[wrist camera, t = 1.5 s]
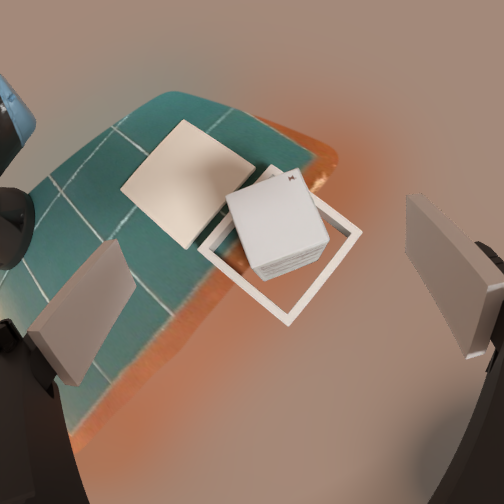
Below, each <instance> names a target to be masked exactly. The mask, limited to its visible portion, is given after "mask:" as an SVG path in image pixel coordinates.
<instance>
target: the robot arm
mask: <svg viewBox="0 0 504 504" xmlns="http://www.w3.org/2000/svg"><path fill="white" fill-rule="evenodd" d="M35 127H36V119H35V117H34V115H33V114H32V113H31V111H30V110H29V108H28V107H27V106H26V104H25V103H24V102H23V101H22V99H21V98H20V97H19V95H18V94H17V93H16V92H15V90H14V89H13V88H12V87H11V85H10V84H9V83H8V82H7V80H6V79H5V78H4V77H3V76H2V75H1V74H0V176H1V175H2V174H3V172H4V171H5V169H6V168H7V167H8V165H9V164H10V163H11V161H12V160H13V159H14V158H15V156H16V155H17V154H18V152H19V151H20V150H21V149H22V148H23V147H24V144H25V143H26V141H27V140H28V138H29V137H30V136H31V134H32V133H33V132H34V130H35ZM34 222H35V212H34V206H33V202H32V200H31V198H30V196H29V195H28V194H27V193H25V192H23V191H21V190H19V189H17V188H6V187H0V270H10V269H12V268H13V267H15V266H16V265H17V264H18V263H19V262H20V261H21V259H22V258H23V257H24V255H25V253H26V251H27V249H28V247H29V244H30V241H31V238H32V235H33V230H34ZM405 253H406V254H407V256H408V257H409V259H410V260H411V262H412V264H413V265H414V267H415V268H416V270H417V272H418V273H419V275H420V277H421V278H422V280H423V282H424V283H425V285H426V287H427V288H428V290H429V292H430V293H431V295H432V297H433V298H434V300H435V302H436V304H437V306H438V307H439V309H440V311H441V313H442V314H443V316H444V318H445V320H446V322H447V324H448V326H449V327H450V329H451V331H452V333H453V335H454V337H455V339H456V341H457V343H458V345H459V347H460V349H461V351H462V353H463V355H464V357H465V359H469V358H472V357H476V356H479V355H482V354H485V352H486V350H487V347H488V345H489V342H490V339H491V341H492V343H493V345H494V346H495V351H494V353H493V356H492V358H491V361H490V362H489V365H488V367H487V369H486V372H487V376H486V379H485V382H484V385H483V388H482V391H481V393H480V396H479V399H478V402H477V404H476V407H475V410H474V412H473V415H472V417H471V420H470V422H469V424H468V427H467V429H466V431H465V434H464V436H463V438H462V440H461V443H460V445H459V447H458V449H457V451H456V453H455V455H454V457H453V459H452V461H451V463H450V465H449V467H448V469H447V471H446V473H445V475H444V476H443V478H442V480H441V482H440V484H439V485H438V487H437V489H436V490H435V492H434V494H433V495H432V497H431V499H430V500H429V502H428V504H504V261H503V260H502V259H501V258H500V257H498V255H497V254H496V253H495V252H494V251H493V250H492V249H491V248H490V247H488V246H487V245H485V244H483V243H481V242H479V241H478V242H473V241H472V240H471V239H470V238H469V237H468V236H467V235H466V234H465V233H464V232H463V231H462V230H461V229H460V228H459V227H458V226H457V225H456V224H455V223H454V222H453V221H452V220H451V219H450V218H448V217H447V216H446V215H445V214H444V213H443V212H442V211H441V210H440V209H439V208H438V207H437V206H435V205H434V204H433V203H432V202H431V201H430V200H429V199H428V198H427V197H425V196H424V195H423V194H422V193H421V194H412V195H406V248H405ZM136 287H137V286H136V284H135V282H134V280H133V277H132V275H131V273H130V270H129V268H128V265H127V263H126V261H125V258H124V256H123V253H122V251H121V248H120V246H119V243H118V241H117V239H113V240H108V241H104V242H103V243H102V244H101V245H100V246H99V247H98V248H97V249H96V251H95V252H94V253H93V254H92V255H91V256H90V257H89V258H88V259H87V260H86V261H85V262H84V263H83V265H82V266H81V267H80V268H79V269H78V270H77V271H76V272H75V273H74V274H73V276H72V277H71V278H70V279H69V280H68V281H67V282H66V284H65V285H64V286H63V287H62V288H61V289H60V290H59V292H58V293H57V294H56V295H55V296H54V297H53V299H52V300H51V301H50V302H49V303H48V305H47V306H46V307H45V308H44V309H43V311H42V312H41V313H40V314H39V316H38V317H37V318H36V319H35V321H34V322H33V323H32V324H31V326H30V327H29V328H28V330H27V334H26V335H25V336H24V338H23V337H22V336H21V334H20V333H19V331H18V330H17V328H16V327H15V325H14V324H13V322H12V320H11V319H4V320H1V321H0V504H90V503H89V501H88V498H87V495H86V492H85V490H84V487H83V484H82V481H81V478H80V475H79V471H78V468H77V465H76V462H75V459H74V455H73V451H72V448H71V444H70V440H69V436H68V432H67V428H66V423H65V419H64V414H63V410H62V405H61V400H60V394H59V389H58V386H57V384H56V383H55V381H54V378H55V376H56V375H58V376H59V378H60V379H61V380H62V381H63V383H64V384H65V385H70V386H78V387H79V385H80V383H81V381H82V379H83V378H84V376H85V374H86V372H87V370H88V368H89V367H90V365H91V363H92V361H93V359H94V358H95V356H96V354H97V352H98V350H99V349H100V347H101V345H102V343H103V342H104V340H105V338H106V336H107V335H108V333H109V331H110V330H111V328H112V326H113V324H114V323H115V321H116V319H117V318H118V316H119V314H120V313H121V311H122V309H123V308H124V306H125V304H126V303H127V301H128V300H129V298H130V296H131V295H132V293H133V291H134V290H135V288H136Z"/></svg>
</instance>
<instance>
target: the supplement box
mask: <svg viewBox="0 0 504 504" xmlns="http://www.w3.org/2000/svg"><path fill="white" fill-rule="evenodd" d="M225 198H226V202H227V205H228V208H229V211H230V213H231V216H232V219H233V222H234V225H235V228H236V230H237V233H238V236H239V238H240V241H241V244H242V246H243V249H244V252H245V254H246V257H247V259H248V262H249V264H250V267H251V269H252V270H253V271H254V272H255V273H256V274H257V275H258V276H259V277H260V278H261V279H262V280H263V281H267V280H269V279H272V278H274V277H277V276H279V275H282V274H285V273H287V272H290V271H292V270H295V269H298V268H300V267H302V266H305V265H308V264H310V263H313V262H315V261H317V260H318V259H319V257H320V255H321V254H322V252H323V250H324V249H325V247H326V245H327V243H328V242H329V241H330V238H329V235H328V233H327V231H326V228H325V226H324V224H323V222H322V219H321V217H320V214H319V212H318V210H317V208H316V205H315V203H314V200H313V198H312V196H311V194H310V192H309V190H308V188H307V186H306V183H305V181H304V179H303V177H302V175H301V172H300V170H299V168H295V169H293V170H290V171H288V172H285V173H282V174H280V175H277V176H275V177H272V178H269V179H266V180H264V181H261V182H259V183H256V184H253V185H251V186H248V187H245V188H243V189H240V190H238V191H235V192H233V193H230V194H228V195H226V196H225Z"/></svg>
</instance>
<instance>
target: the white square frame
mask: <svg viewBox="0 0 504 504" xmlns="http://www.w3.org/2000/svg"><path fill="white" fill-rule="evenodd" d="M282 173H283V172H282V171H281V170H279V169H278V168H276V167H275V166H273V165H272V164H271V165H270V166H269V167H268V168H267V169H266V170H265V171H264V173H263V174H262V175H261V176H260V177H259V178H258V179H257V180H256V182H255V183H254V184H256V183H259V182H261V181H264V180H266V179H269V178H272V177H275V176H277V175H280V174H282ZM309 192H310V191H309ZM310 194H311V196H312V198H313V200H314V203H315V205H316V208H317V210H318V212H319V214H320V217H322V218H323V219H324V220H326V221H327V222H328V223H330V224H331V225H332V226H333V227H335V228H336V229H337V230H339V231H340V232H341V233H342V234H344V235H345V236H346V237H347V238H348V239H347V240H346V241H345V243H344V244H343V245H342V247H341V248H340V249H339V250H338V252H337V253H336V254H335V256H334V257H333V258H332V259H331V261H330V262H329V263H328V265H327V266H326V267H325V268H324V270H323V271H322V272H321V274H320V275H319V276H318V278H317V279H316V280H315V281H314V282H313V284H312V285H311V286H310V288H309V289H308V290H307V291H306V292H305V294H304V295H303V296H302V297H301V298H300V300H299V301H298V302H297V303H296V305H295V306H294V307H293V308H292V309H291V311H290V312H289V313H288V314H287V313H285V312H284V311H283V310H282V309H281V308H279V307H278V306H277V305H276V304H274V303H273V302H272V301H271V300H270V299H268V298H267V297H266V296H265V295H263V294H262V293H261V292H260V291H259V290H257V289H256V288H255V287H254V286H253V285H251V284H250V283H249V282H248V281H247V280H245V279H244V278H243V277H242V276H241V275H240V274H238V273H237V272H236V271H235V270H234V269H232V268H231V267H230V266H229V265H228V264H226V263H225V262H224V261H223V260H222V259H221V258H219V257H218V256H217V255H216V254H215V253H213V252H214V251H215V250H216V249H217V247H218V246H219V245H220V244H221V243H222V242H223V240H224V239H225V238H226V237H227V236H228V234H229V233H230V232H231V231H232V230H233V229H234V227H235V225H234V222H233V219H232V216H231V213H230V211H229V213H228V214H227V215H226V216H225V217H224V218H223V220H222V221H221V222H220V223H219V224H218V226H217V227H216V228H215V229H214V230H213V231H212V233H211V234H210V235H209V236H208V237H207V239H206V240H205V241H204V242H203V243H202V244H201V246H200V247H199V248H198V249H197V250H198V251H199V252H200V253H201V254H202V255H204V256H205V257H206V258H207V259H208V260H209V261H211V262H212V263H213V264H214V265H215V266H216V267H218V268H219V269H220V270H221V271H222V272H223V273H225V274H226V275H227V276H228V277H229V278H230V279H232V280H233V281H234V282H235V283H236V284H238V285H239V286H240V287H241V288H243V290H245V291H246V292H247V293H248V294H249V295H251V296H252V297H253V298H254V299H256V300H257V301H258V302H259V303H260V304H261V305H263V306H264V307H265V308H266V309H267V310H269V311H270V312H271V313H272V314H273V315H275V316H276V317H277V318H278V319H280V320H281V321H282V322H283V323H284V324H286V325H287V326H290V324H291V323H292V322H293V320H294V319H295V318H296V317H297V316H298V315H299V314H300V312H301V311H302V310H303V308H304V307H305V306H306V305H307V304H308V303H309V301H310V300H311V299H312V298H313V296H314V295H315V294H316V293H317V291H318V290H319V289H320V288H321V286H322V285H323V284H324V283H325V281H326V280H327V279H328V277H329V276H330V275H331V274H332V272H333V271H334V269H335V268H336V267H337V266H338V265H339V263H340V262H341V261H342V259H343V258H344V256H345V255H346V254H347V253H348V251H349V250H350V249H351V247H352V246H353V245H354V243H355V242H356V241H357V239H358V238H359V237H360V235H361V234H362V231H361V230H360V229H359V228H357V227H356V226H355V225H354V224H352V223H351V222H350V221H348V220H347V219H346V218H345V217H343V216H342V215H341V214H339V213H338V212H337V211H335V210H334V209H333V208H331V207H330V206H329V205H327V204H326V203H325V202H324V201H322V200H321V199H319V198H318V197H317V196H315V195H314V194H313V193H311V192H310Z"/></svg>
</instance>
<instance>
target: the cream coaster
mask: <svg viewBox="0 0 504 504" xmlns="http://www.w3.org/2000/svg"><path fill="white" fill-rule="evenodd" d="M255 170H256V167H255V166H253V165H252V164H251V163H249V162H248V161H246V160H245V159H243V158H242V157H240V156H239V155H237V154H236V153H234V152H233V151H232V150H230V149H229V148H227V147H226V146H224V145H223V144H221V143H220V142H218V141H217V140H215V139H213V138H212V137H210V136H209V135H207V134H206V133H204V132H203V131H201V130H200V129H198V128H197V127H195V126H193V125H192V124H190V123H189V122H187V121H186V120H184V119H183V120H182V121H181V122H180V123H179V124H178V125H177V126H176V127H175V128H174V129H173V130H172V131H171V132H170V134H169V135H168V136H167V137H166V138H165V139H164V140H163V141H162V142H161V143H160V144H159V145H158V146H157V147H156V149H155V150H154V151H153V152H152V153H151V154H150V155H149V156H148V157H147V159H146V160H145V161H144V162H143V163H142V164H141V165H140V166H139V168H138V169H137V170H136V171H135V172H134V173H133V175H132V176H131V177H130V178H129V179H128V180H127V182H126V183H125V184H124V185H123V186H122V188H121V189H120V190H121V191H122V192H123V193H124V194H125V195H126V196H127V197H128V198H129V199H130V200H131V201H133V202H134V203H135V204H136V205H137V206H138V207H139V208H140V209H141V210H142V211H143V212H144V213H146V214H147V215H148V216H149V217H150V218H151V219H152V220H153V221H154V222H155V223H157V224H158V225H159V226H160V227H161V228H162V229H163V230H164V231H165V232H166V233H168V234H169V235H170V236H171V237H172V238H173V239H174V240H175V241H176V242H178V243H179V244H180V245H181V246H182V247H183V248H184V249H186V250H187V249H188V248H189V246H190V245H191V244H192V243H193V242H194V240H195V239H196V238H197V237H198V236H199V234H200V233H201V232H202V231H203V230H204V229H205V227H206V226H207V225H208V224H209V223H210V221H211V220H212V219H213V218H214V217H215V216H216V214H217V213H218V212H219V211H220V210H221V209H222V207H223V206H224V205H225V204H226V203H227V202H226V198H225V196H226V195H228V194H230V193H233V192H235V191H237V190H238V189H239V188H240V187H241V186H242V185H243V183H244V182H245V181H246V180H247V179H248V178H249V177H250V176H251V174H252V173H253V172H254V171H255Z"/></svg>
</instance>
